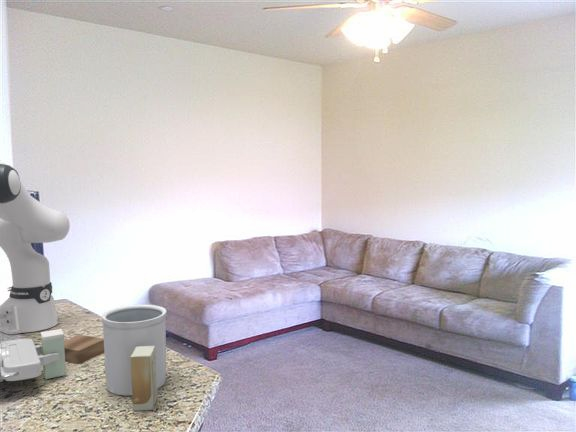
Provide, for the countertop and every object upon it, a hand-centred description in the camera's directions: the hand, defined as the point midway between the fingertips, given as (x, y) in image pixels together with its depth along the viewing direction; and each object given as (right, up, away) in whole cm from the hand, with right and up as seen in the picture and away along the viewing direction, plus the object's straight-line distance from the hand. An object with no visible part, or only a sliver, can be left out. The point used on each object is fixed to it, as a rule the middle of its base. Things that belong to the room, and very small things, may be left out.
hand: (57, 351), depth 127 cm
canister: (-1, -6, 0) cm, 6 cm away
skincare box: (+27, -7, -17) cm, 32 cm away
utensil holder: (+22, -6, -6) cm, 24 cm away
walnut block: (0, -5, +14) cm, 15 cm away
